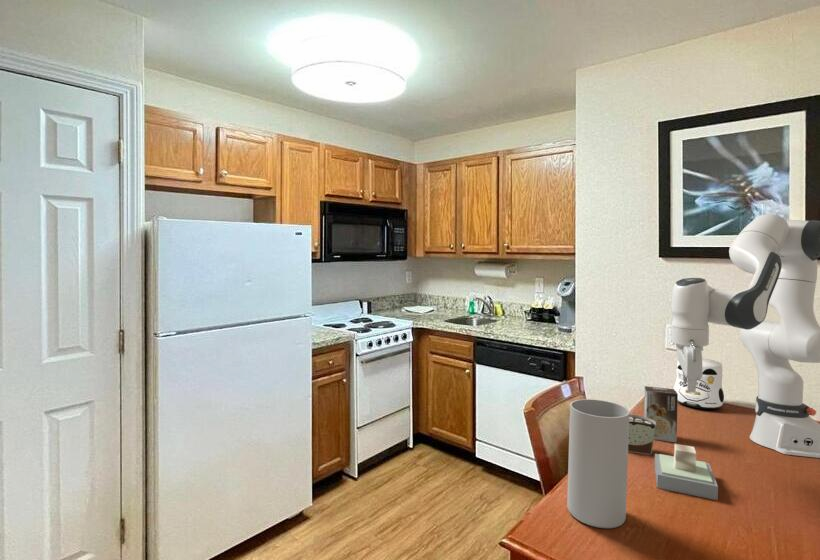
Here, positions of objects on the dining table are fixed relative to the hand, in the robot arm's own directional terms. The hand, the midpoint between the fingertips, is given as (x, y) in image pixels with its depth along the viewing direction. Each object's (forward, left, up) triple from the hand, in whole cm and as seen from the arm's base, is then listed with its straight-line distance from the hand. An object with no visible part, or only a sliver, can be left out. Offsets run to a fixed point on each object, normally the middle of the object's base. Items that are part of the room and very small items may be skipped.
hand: (689, 386), depth 124 cm
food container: (+13, -10, -24) cm, 29 cm away
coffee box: (+5, -24, -24) cm, 34 cm away
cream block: (+1, +7, -20) cm, 21 cm away
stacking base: (+1, +7, -24) cm, 25 cm away
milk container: (-11, -69, -24) cm, 74 cm away
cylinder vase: (+21, +34, -24) cm, 47 cm away
